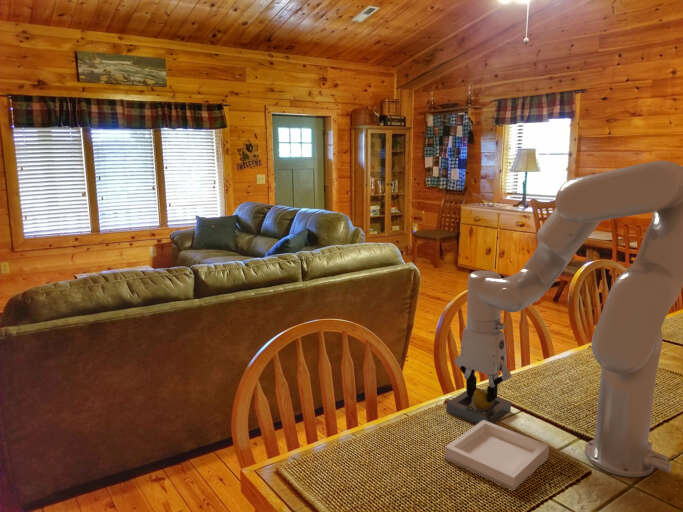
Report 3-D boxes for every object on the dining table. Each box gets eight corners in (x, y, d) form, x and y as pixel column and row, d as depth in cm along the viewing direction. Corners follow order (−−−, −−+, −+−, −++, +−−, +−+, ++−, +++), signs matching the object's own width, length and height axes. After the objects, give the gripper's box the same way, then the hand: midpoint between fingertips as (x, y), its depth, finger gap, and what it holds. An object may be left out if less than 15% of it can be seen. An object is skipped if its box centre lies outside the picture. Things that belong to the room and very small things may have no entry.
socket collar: (510, 411, 129) (511, 401, 129) (487, 428, 122) (487, 418, 121) (470, 396, 137) (470, 387, 136) (446, 412, 129) (446, 402, 129)
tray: (548, 458, 110) (549, 445, 109) (513, 492, 99) (513, 477, 99) (482, 432, 120) (483, 419, 120) (444, 459, 110) (445, 446, 109)
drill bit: (500, 412, 129) (489, 396, 122) (479, 419, 130) (467, 404, 123) (493, 391, 132) (482, 376, 125) (473, 399, 134) (461, 383, 127)
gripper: (525, 327, 121) (522, 402, 125) (460, 313, 133) (459, 382, 137) (509, 336, 116) (506, 414, 120) (443, 320, 128) (442, 392, 131)
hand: (481, 396), depth 128 cm, fingers closed on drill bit, 4 cm apart
